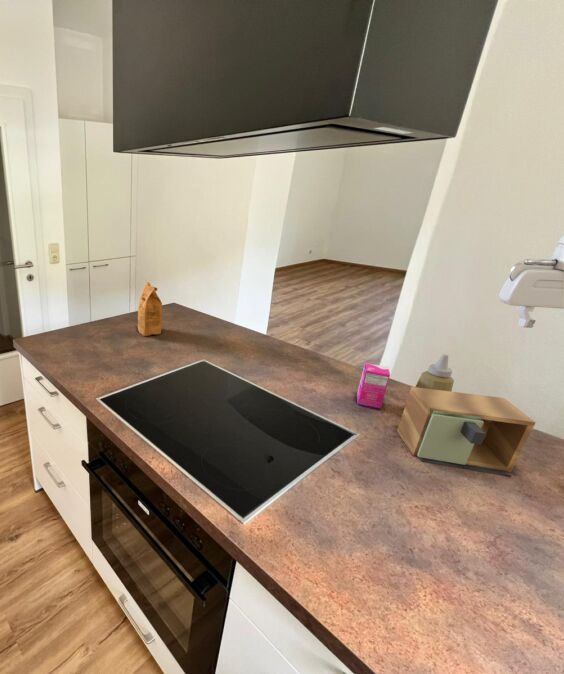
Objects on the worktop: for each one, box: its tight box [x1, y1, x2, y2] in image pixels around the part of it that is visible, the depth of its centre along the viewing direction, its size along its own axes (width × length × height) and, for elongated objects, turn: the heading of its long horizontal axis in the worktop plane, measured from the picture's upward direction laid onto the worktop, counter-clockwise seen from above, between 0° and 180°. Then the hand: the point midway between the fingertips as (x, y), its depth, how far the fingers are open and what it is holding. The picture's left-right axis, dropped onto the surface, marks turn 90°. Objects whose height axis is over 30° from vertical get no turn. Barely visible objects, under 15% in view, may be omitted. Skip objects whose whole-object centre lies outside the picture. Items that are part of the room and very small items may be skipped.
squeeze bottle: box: [414, 353, 455, 392], centre depth 96 cm, size 8×8×18 cm
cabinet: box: [396, 386, 537, 478], centre depth 83 cm, size 18×12×13 cm, turn 72°
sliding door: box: [416, 414, 486, 465], centre depth 77 cm, size 9×5×11 cm, turn 72°
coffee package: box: [137, 281, 163, 337], centre depth 159 cm, size 10×12×22 cm
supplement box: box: [356, 362, 391, 411], centre depth 103 cm, size 6×6×12 cm
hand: (554, 329), depth 73 cm, fingers open, 8 cm apart
